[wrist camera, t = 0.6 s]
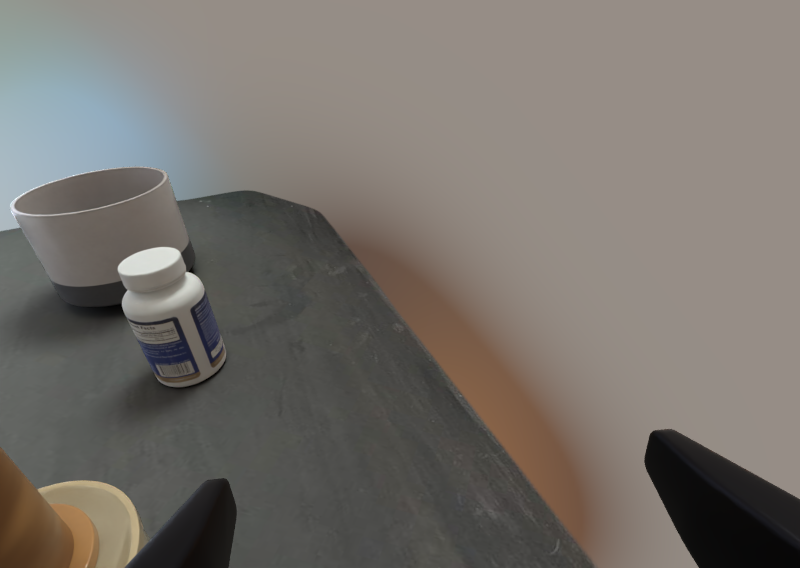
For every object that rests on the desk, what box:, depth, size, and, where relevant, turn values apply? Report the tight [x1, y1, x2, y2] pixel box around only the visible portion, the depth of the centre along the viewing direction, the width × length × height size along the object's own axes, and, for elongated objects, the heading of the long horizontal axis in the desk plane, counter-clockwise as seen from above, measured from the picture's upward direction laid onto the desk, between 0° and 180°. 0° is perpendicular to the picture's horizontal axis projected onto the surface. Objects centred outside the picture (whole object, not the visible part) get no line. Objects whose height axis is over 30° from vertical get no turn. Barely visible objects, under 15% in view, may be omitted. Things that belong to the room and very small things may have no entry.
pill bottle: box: [118, 247, 226, 387], centre depth 32 cm, size 5×5×10 cm
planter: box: [10, 167, 195, 307], centre depth 44 cm, size 13×13×10 cm
